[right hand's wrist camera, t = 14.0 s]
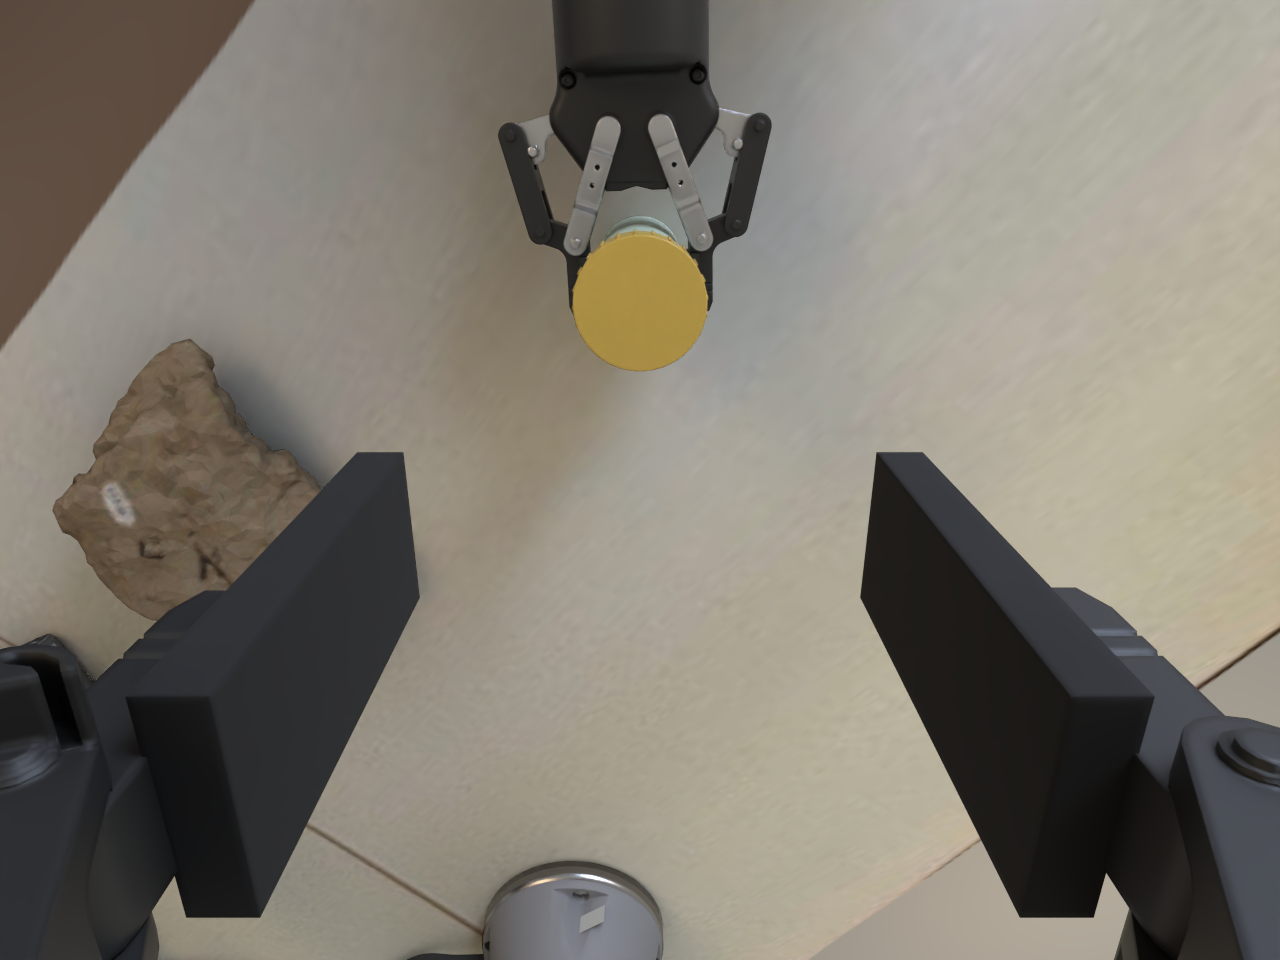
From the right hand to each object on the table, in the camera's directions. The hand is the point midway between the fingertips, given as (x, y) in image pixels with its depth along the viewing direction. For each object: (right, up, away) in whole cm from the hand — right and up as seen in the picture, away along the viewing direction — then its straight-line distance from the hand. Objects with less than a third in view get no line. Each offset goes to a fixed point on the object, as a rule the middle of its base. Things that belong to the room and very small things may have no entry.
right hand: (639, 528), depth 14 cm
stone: (-27, -1, +43) cm, 50 cm away
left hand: (0, +10, +31) cm, 33 cm away
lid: (0, +8, +21) cm, 23 cm away
